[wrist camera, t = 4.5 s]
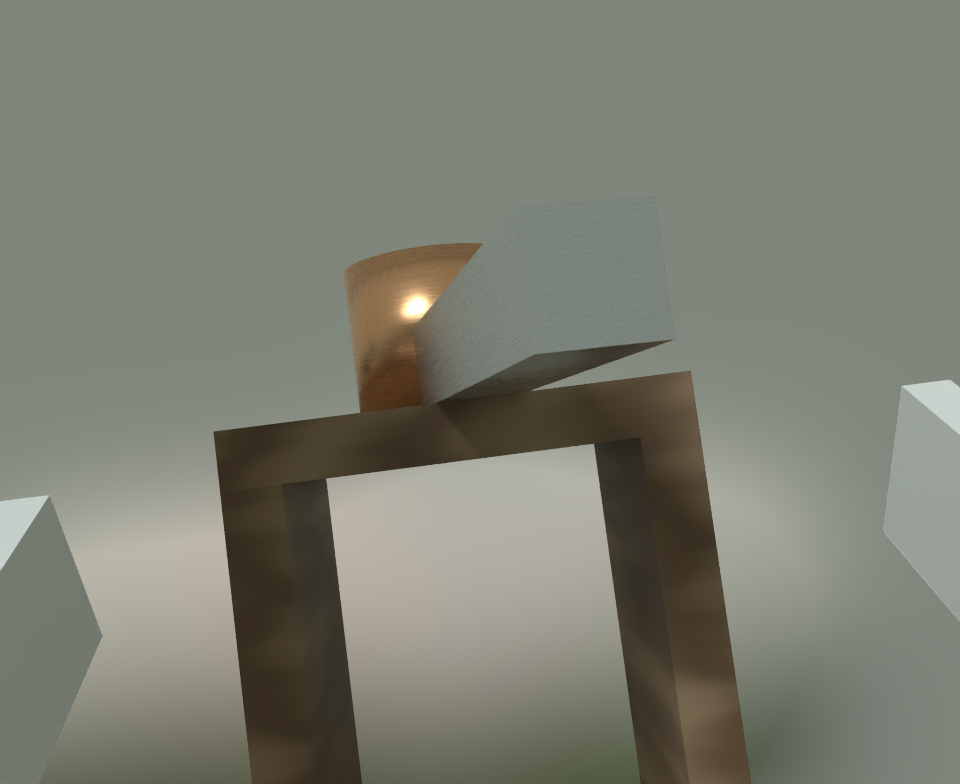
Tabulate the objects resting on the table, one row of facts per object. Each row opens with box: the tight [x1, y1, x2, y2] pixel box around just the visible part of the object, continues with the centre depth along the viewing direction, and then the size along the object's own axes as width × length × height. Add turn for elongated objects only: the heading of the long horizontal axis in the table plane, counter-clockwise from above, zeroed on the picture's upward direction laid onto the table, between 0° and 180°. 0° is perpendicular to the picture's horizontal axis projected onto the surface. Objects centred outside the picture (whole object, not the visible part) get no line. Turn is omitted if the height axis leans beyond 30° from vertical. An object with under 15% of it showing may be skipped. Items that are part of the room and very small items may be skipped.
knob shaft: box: [344, 196, 675, 413], centre depth 29 cm, size 7×22×6 cm, turn 13°
